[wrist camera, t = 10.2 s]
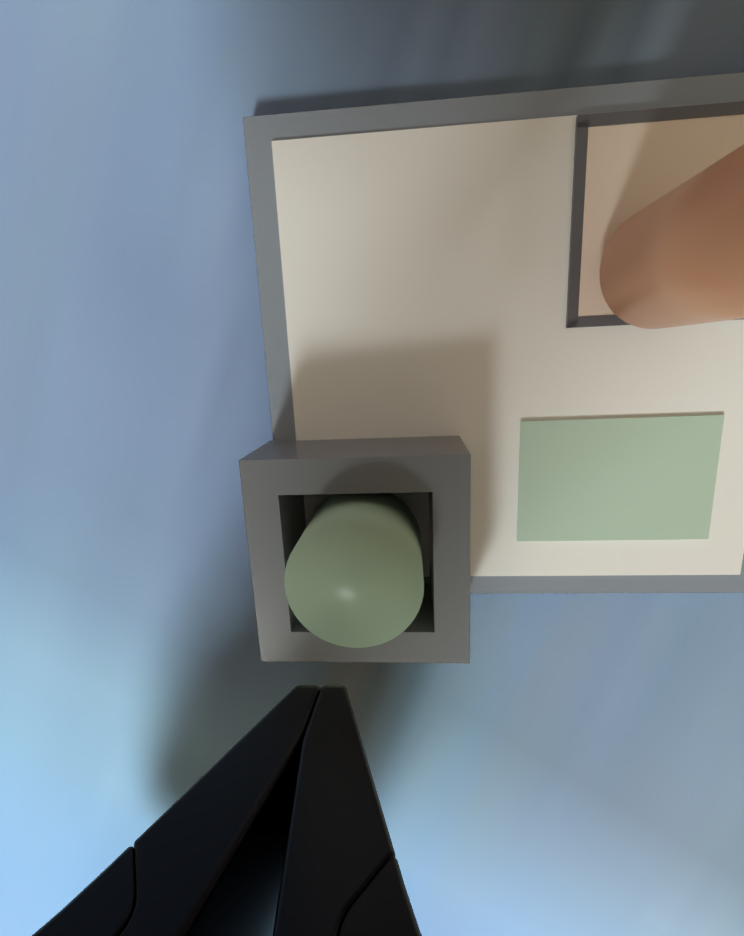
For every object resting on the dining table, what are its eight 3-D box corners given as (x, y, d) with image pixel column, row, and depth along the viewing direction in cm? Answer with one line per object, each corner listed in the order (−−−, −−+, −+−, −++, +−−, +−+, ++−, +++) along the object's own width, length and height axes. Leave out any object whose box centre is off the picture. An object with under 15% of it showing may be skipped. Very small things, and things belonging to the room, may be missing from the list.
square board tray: (745, 599, 16) (837, 666, 13) (290, 600, 18) (261, 661, 14) (826, 76, 13) (984, -29, 9) (246, 127, 14) (192, 52, 11)
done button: (422, 592, 15) (425, 648, 12) (312, 592, 16) (290, 647, 13) (420, 484, 14) (422, 518, 11) (303, 487, 15) (278, 520, 12)
